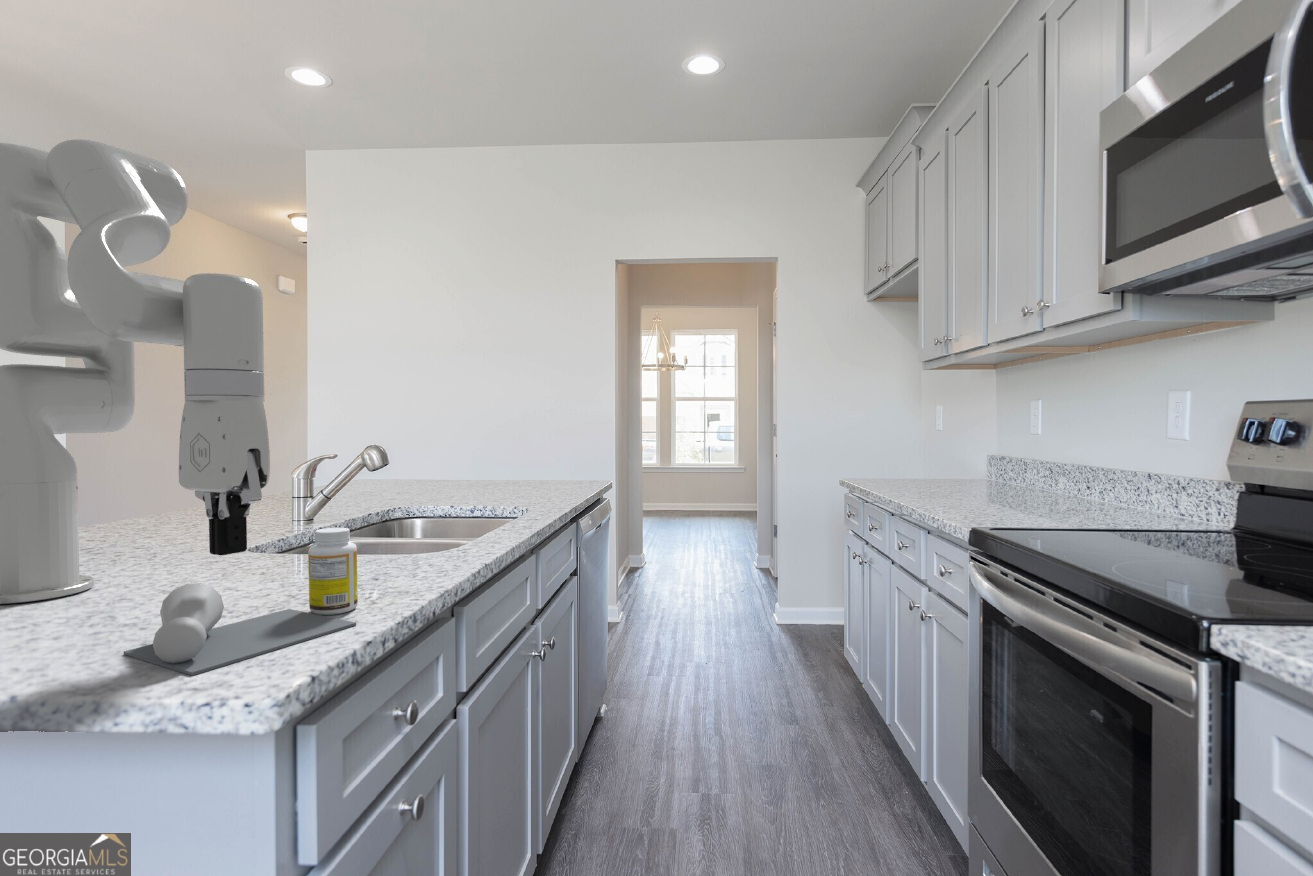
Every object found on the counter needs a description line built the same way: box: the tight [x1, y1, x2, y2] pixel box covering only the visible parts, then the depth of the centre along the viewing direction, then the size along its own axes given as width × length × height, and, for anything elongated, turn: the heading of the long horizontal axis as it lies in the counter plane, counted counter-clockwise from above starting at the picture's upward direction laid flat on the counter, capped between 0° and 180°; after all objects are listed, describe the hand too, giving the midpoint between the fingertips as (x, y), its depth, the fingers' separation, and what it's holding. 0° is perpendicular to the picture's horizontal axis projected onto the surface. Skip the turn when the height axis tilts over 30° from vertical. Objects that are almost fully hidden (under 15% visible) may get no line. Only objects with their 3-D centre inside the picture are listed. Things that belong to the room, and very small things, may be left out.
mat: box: [123, 608, 357, 676], centre depth 76 cm, size 12×18×1 cm
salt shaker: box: [152, 582, 225, 664], centre depth 72 cm, size 6×6×13 cm
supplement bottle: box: [307, 527, 359, 616], centre depth 87 cm, size 6×6×10 cm
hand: (228, 552), depth 77 cm, fingers closed
